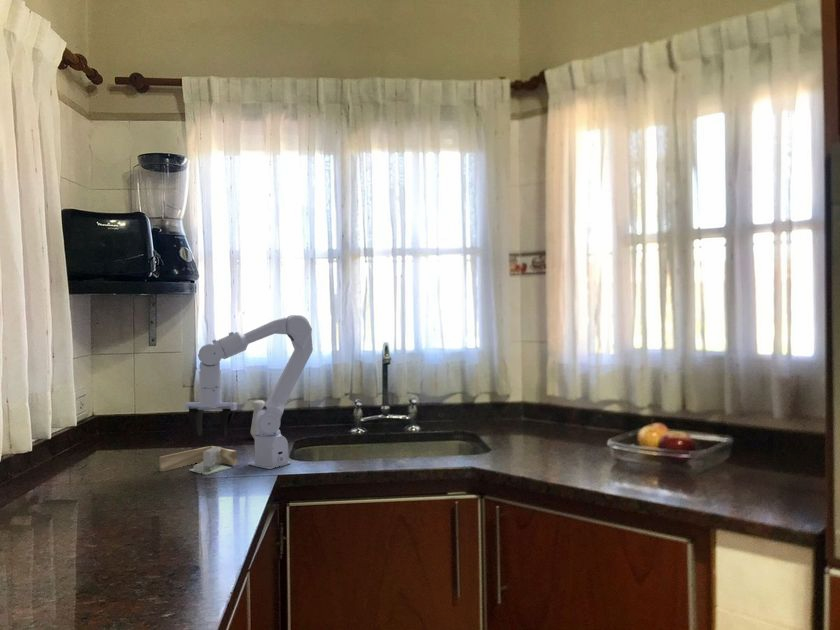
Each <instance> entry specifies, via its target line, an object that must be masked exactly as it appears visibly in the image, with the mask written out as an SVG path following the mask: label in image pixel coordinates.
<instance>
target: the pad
mask: <svg viewBox="0 0 840 630" xmlns="http://www.w3.org/2000/svg"><path fill="white" fill-rule="evenodd" d="M230 469H232V467H230V466H225V465H222V464H221V466H220V467H218V468H217V469H215V470H213V471H211V472H202V471H194V467H193V468H190V469H189V471H190V472H193V473H198V474H201V473H202V474H201V475H205V476H207V475H210V474H215V473H218V472H222V471H223V472H224V471H226V470H230Z"/></svg>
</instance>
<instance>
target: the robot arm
mask: <svg viewBox="0 0 840 630" xmlns="http://www.w3.org/2000/svg"><path fill="white" fill-rule="evenodd" d="M312 331H313V329H312V326H311V324H310V322H309V320H308V318H306V317H305V316H303V315H299V314H298V315H297V314H292V315H291V314H290V315H289V316H287V317H282V318H278V319H275V320H271V321H270V322H268V323H266V324H262V325H261V326H259V327H257V328H255V329H252V330H250V331H248V332H245V333H241V332H239V331H236V332H234V331H230V332H228V335H226V336H224V337H221V338H220V339H217V340H216V339H212V344H211V343H206V344H205V345H202V346H201V347H200V348H199V351H198V354H197V356H198V359H199V361H200V364H199V371H198V372H199V373H198V374H199V375H198V376H199V379H198V381H199V401H191V402H190V401H188V402H186V403H185V404H184V408H185V409H184V410H185V411H187V412H186V416H187V417H188V419H189V421H190V422H191V424H192V427H193V429H194V433H195V436H196V437H200V436H203V417H204V411H219V412H218V415H219V419H220V421H219V422H220V429H221V431H220V434H221V437H224V438H225V437H227V436H228V433H229V429H230V425H231V422H232V420H233V419H232V418H233V417H234V415H235V413H236V410H237V409H238V403H237V402H231V401H223V400H222V399H223V397H222V370H221V366H220V364H221V363H220V362H221V360H226V359H229V358H231V357H233V356H236V355H238V354H240V353H243V352H245V351H246V350H247V348H248V345H251V344H252V343H255V342H257V341H260V340H262V339H264V338H267V337H269V336H270V337H271V336H272V335H287V337H288V338H289V339H290V341H291V345H292V347H293V351H292V353H291V355H290V357H289V358H288V362H287V363H286V365H285V367H284V369H283V370H282V373H281V374H280V375H279V376H280V377H279V378H278V380H277V382H276V384H275V387H274V388H273V390H272V391H271V394H270V396H269V398H268V399H267V400H266V401H264V402H265V404H264V406H263V407H262V408H261V409H260V410H259V411H258V412H257V413H256V414H255V417H254V421H255V424H256V426H257V427H258V428H257V430H256V431H255V439H254V460H255V461H252V462H248V465H249V466H251V467H258V468H261V469H262V468H263V469H266V470H271V469H274V468H275V467H276V468H279V466H280V467H284V466H287V465H290V464H291V463H292V462H291V461H289V443H288V440H287V438H286V437H285V436H283V435H282V433H281V430H280V429H279V428H280V427H281V419H282V416H283V414H284V411H285V405H286V404H287V402H288V399H289V398H290V396H291V394H292V391H293V390H294V388H295V386H296V384H297V382H298V380H299V378H300V376H301V374H302V372H303V371H304V368H305V366H306V364H307V363H308V361H309V359H310V357H311V355H312V353H313V337H312V336H313V335H312V333H313V332H312ZM276 468H275V469H276Z"/></svg>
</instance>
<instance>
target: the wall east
mask: <svg viewBox="0 0 840 630" xmlns="http://www.w3.org/2000/svg"><path fill="white" fill-rule="evenodd" d="M211 446H212V445H209V446H204V447H199V448H194V449H189V450H185V451H180V452H176V453H175V452H174V453H171V454H166V455H162V456H161V455H160V456H159V458H158V459H159V472H162V471H163V472H167V471H170V470H174V469H180V468H184V467H187V465H188V466H192V465H196V464H195V463H197V464H198V463H199V462H202V461H203V452H204V451H206V450H208V449H210V447H211ZM191 464H192V465H191ZM183 466H184V467H183ZM179 467H180V468H179Z"/></svg>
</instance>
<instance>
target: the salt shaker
mask: <svg viewBox="0 0 840 630" xmlns="http://www.w3.org/2000/svg"><path fill="white" fill-rule="evenodd" d="M265 402H266V401H265V400H261V399H260V400H259V399H258V400H254V401H252V404H251V405H252V408H253V412H252V419H251V427H250V435H251V436H252V438H253V440H255V431H256V430H257V428H258V427H257V426H256V424H255V421H254V417H255V414H256V413H257V412H258V411H259V410H260V409H261V408H262V407H263V406H264V404H265Z"/></svg>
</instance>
